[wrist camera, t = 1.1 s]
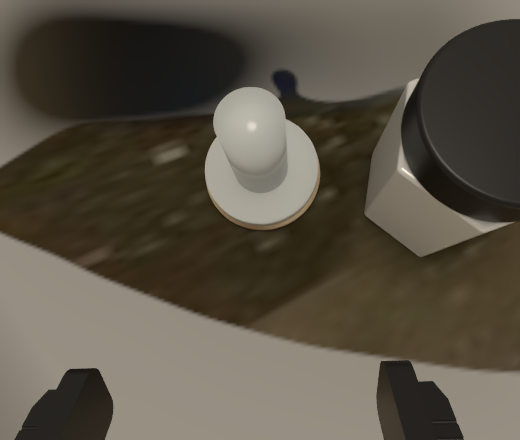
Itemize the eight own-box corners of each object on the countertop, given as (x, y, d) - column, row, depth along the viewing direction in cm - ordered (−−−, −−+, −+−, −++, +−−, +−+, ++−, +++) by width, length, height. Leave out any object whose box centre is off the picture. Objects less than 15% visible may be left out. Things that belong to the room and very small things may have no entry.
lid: (312, 117, 28) (318, 44, 20) (321, 222, 27) (333, 186, 19) (207, 127, 29) (173, 59, 21) (210, 230, 27) (175, 199, 19)
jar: (519, 187, 27) (694, 95, 15) (446, 281, 26) (571, 262, 14) (407, 111, 28) (486, -24, 17) (336, 197, 28) (366, 118, 16)
